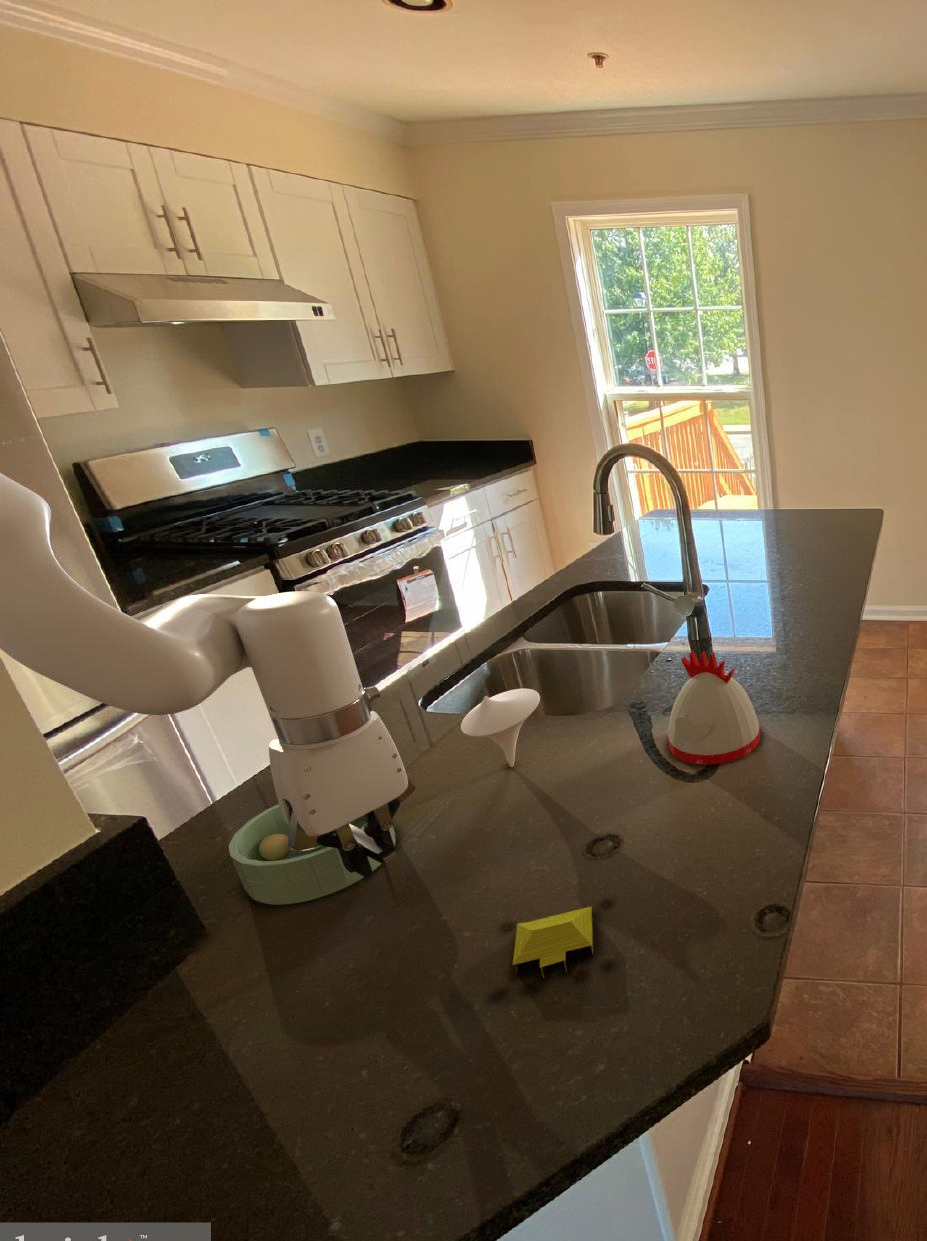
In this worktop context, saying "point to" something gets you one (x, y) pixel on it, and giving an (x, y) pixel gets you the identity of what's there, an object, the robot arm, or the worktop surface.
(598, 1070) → the worktop surface
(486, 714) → the white spinning top
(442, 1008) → the worktop surface
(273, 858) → the orange-brown rounded ball
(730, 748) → the kitchen timer
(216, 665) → the robot arm
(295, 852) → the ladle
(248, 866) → the bowl
